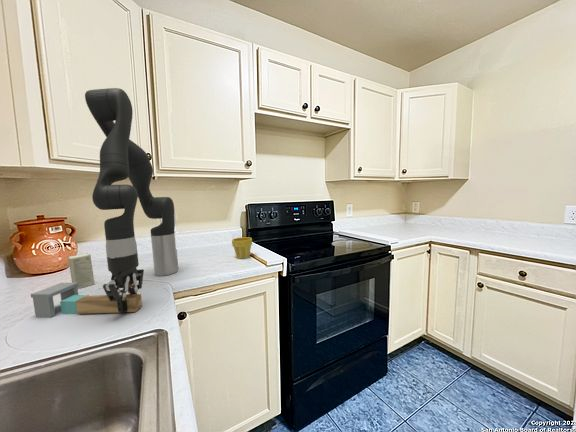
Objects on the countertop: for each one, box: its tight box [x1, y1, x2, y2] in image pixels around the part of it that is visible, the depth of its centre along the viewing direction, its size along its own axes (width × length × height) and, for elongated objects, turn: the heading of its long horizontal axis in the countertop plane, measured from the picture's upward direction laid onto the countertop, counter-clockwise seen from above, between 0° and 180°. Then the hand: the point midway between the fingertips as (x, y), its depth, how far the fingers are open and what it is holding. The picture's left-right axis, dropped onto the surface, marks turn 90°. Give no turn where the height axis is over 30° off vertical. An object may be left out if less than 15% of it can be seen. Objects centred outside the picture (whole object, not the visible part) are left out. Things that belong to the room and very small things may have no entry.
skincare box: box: [67, 252, 95, 289], centre depth 95 cm, size 6×4×12 cm
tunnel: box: [30, 282, 79, 318], centre depth 76 cm, size 9×6×7 cm
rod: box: [76, 293, 143, 315], centre depth 74 cm, size 4×17×4 cm, turn 90°
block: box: [59, 294, 90, 315], centre depth 75 cm, size 4×5×4 cm
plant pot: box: [231, 236, 253, 260], centre depth 129 cm, size 10×10×10 cm
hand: (128, 308), depth 74 cm, fingers closed on rod, 3 cm apart
